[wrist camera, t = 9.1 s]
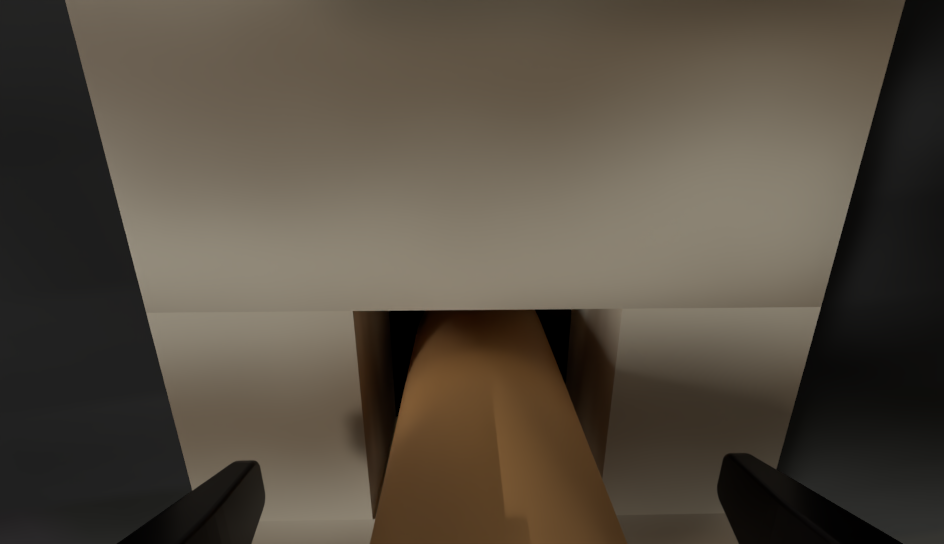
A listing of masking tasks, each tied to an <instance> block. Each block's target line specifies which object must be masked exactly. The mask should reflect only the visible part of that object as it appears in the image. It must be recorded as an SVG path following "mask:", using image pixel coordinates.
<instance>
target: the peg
mask: <svg viewBox="0 0 944 544" xmlns="http://www.w3.org/2000/svg"><path fill="white" fill-rule="evenodd" d="M370 544H627V541H626V539H625V536H624V534H623V531H622V529H621V526H620V523H619V521H618V518H617V516H616V513H615V511H614V508H613V506H612V503H611V500H610V498H609V495H608V493H607V490H606V488H605V485H604V483H603V480H602V477H601V475H600V472H599V470H598V467H597V465H596V462H595V460H594V457H593V454H592V452H591V449H590V447H589V444H588V442H587V439H586V437H585V434H584V432H583V429H582V426H581V424H580V421H579V419H578V416H577V414H576V411H575V409H574V406H573V403H572V401H571V398H570V396H569V393H568V391H567V388H566V386H565V383H564V380H563V378H562V375H561V373H560V370H559V368H558V365H557V363H556V360H555V357H554V355H553V352H552V350H551V347H550V345H549V342H548V340H547V337H546V335H545V332H544V329H543V327H542V324H541V322H540V319H539V317H538V315H537V313H536V311H535V310H534V309H527V310H426V311H425V312H424V314H423V316H422V318H421V320H420V322H419V325H418V329H417V333H416V338H415V342H414V347H413V351H412V356H411V360H410V365H409V369H408V374H407V378H406V383H405V387H404V392H403V396H402V401H401V405H400V410H399V414H398V419H397V423H396V428H395V432H394V437H393V441H392V446H391V450H390V455H389V459H388V464H387V468H386V473H385V477H384V482H383V486H382V491H381V495H380V500H379V504H378V509H377V513H376V518H375V522H374V527H373V532H372V536H371V541H370Z"/></svg>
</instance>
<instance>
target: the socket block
mask: <svg viewBox="0 0 944 544" xmlns="http://www.w3.org/2000/svg"><path fill="white" fill-rule="evenodd" d="M65 1H66V5H67V9H68V13H69V17H70V20H71V24H72V28H73V32H74V36H75V40H76V44H77V47H78V51H79V55H80V59H81V63H82V67H83V71H84V74H85V78H86V82H87V86H88V90H89V94H90V98H91V101H92V105H93V109H94V113H95V117H96V121H97V125H98V128H99V132H100V136H101V140H102V144H103V148H104V151H105V155H106V159H107V163H108V167H109V171H110V175H111V178H112V182H113V186H114V190H115V194H116V198H117V202H118V205H119V209H120V213H121V217H122V221H123V225H124V229H125V232H126V236H127V240H128V244H129V248H130V252H131V256H132V259H133V263H134V267H135V271H136V275H137V279H138V282H139V286H140V290H141V294H142V298H143V302H144V306H145V309H146V313H147V317H148V321H149V325H150V329H151V333H152V336H153V340H154V344H155V348H156V352H157V356H158V360H159V363H160V367H161V371H162V375H163V379H164V383H165V387H166V390H167V394H168V398H169V402H170V406H171V410H172V413H173V417H174V421H175V425H176V429H177V433H178V437H179V440H180V444H181V448H182V452H183V456H184V460H185V464H186V467H187V471H188V475H189V479H190V483H191V487H192V491H193V490H194V489H195V488H197V487H198V486H200V485H201V484H202V483H204V482H205V481H207V480H208V479H210V478H211V477H212V476H214V475H215V474H217V473H218V472H219V471H221V470H222V469H224V468H225V467H227V466H228V465H229V464H231V463H233V462H234V461H238V460H255V461H257V462H258V463H259V465H260V468H261V473H262V478H263V483H264V489H265V505H264V508H263V512H262V514H261V517H260V520H259V523H258V526H257V529H256V532H255V535H254V538H253V541H252V544H370V541H371V536H372V532H373V527H374V522H375V518H376V513H377V509H378V504H379V500H380V495H381V491H382V486H383V482H384V477H385V473H386V468H387V464H388V459H389V455H390V450H391V446H392V441H393V437H394V432H395V428H396V423H397V419H398V417H396V409H395V394H394V379H393V364H392V349H391V334H390V319H389V311H409V310H527V309H572V310H571V322H570V335H569V348H568V361H567V374H566V388H567V391H568V393H569V396H570V398H571V401H572V403H573V406H574V409H575V411H576V414H577V416H578V419H579V421H580V424H581V426H582V429H583V432H584V434H585V437H586V439H587V442H588V444H589V447H590V449H591V452H592V454H593V457H594V460H595V462H596V465H597V467H598V470H599V472H600V475H601V477H602V480H603V483H604V485H605V488H606V490H607V493H608V495H609V498H610V500H611V503H612V506H613V508H614V511H615V513H616V516H617V518H618V521H619V523H620V526H621V529H622V531H623V534H624V536H625V539H626V541H627V544H738V541H737V539H736V537H735V535H734V532H733V530H732V528H731V526H730V523H729V521H728V519H727V517H726V514H725V512H724V510H723V508H722V505H721V503H720V501H719V498H718V494H717V483H718V479H719V474H720V470H721V465H722V461H723V457H724V456H725V455H726V454H728V453H748V454H751V455H753V456H754V457H756V458H758V459H759V460H761V461H763V462H764V463H766V464H768V465H770V466H771V467H773V468H775V469H777V465H778V461H779V458H780V454H781V451H782V447H783V443H784V440H785V436H786V432H787V429H788V425H789V421H790V418H791V414H792V411H793V407H794V403H795V400H796V396H797V392H798V389H799V385H800V381H801V378H802V374H803V371H804V367H805V363H806V360H807V356H808V352H809V349H810V345H811V341H812V338H813V334H814V331H815V327H816V323H817V320H818V316H819V312H820V309H821V305H822V301H823V298H824V294H825V291H826V287H827V283H828V280H829V276H830V272H831V269H832V265H833V261H834V258H835V254H836V251H837V247H838V243H839V240H840V236H841V232H842V229H843V225H844V221H845V218H846V214H847V210H848V207H849V203H850V200H851V196H852V192H853V189H854V185H855V181H856V178H857V174H858V170H859V167H860V163H861V160H862V156H863V152H864V149H865V145H866V141H867V138H868V134H869V130H870V127H871V123H872V120H873V116H874V112H875V109H876V105H877V101H878V98H879V94H880V90H881V87H882V83H883V80H884V76H885V72H886V69H887V65H888V61H889V58H890V54H891V50H892V47H893V43H894V40H895V36H896V32H897V29H898V25H899V21H900V18H901V14H902V10H903V7H904V3H905V0H65Z"/></svg>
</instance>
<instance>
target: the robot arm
mask: <svg viewBox="0 0 944 544" xmlns="http://www.w3.org/2000/svg"><path fill="white" fill-rule="evenodd" d="M717 494H718V498H719V501H720V503H721V505H722V508H723V510H724V512H725V514H726V517H727V519H728V521H729V523H730V526H731V528H732V530H733V532H734V535H735V537H736V539H737V541H738V544H903V543H901V542H899V541H898V540H896V539H894V538H892V537H891V536H889V535H887V534H886V533H884V532H882V531H880V530H879V529H877V528H875V527H874V526H872V525H870V524H869V523H867V522H865V521H863V520H862V519H860V518H858V517H857V516H855V515H853V514H851V513H850V512H848V511H846V510H845V509H843V508H841V507H840V506H838V505H836V504H834V503H833V502H831V501H829V500H828V499H826V498H824V497H822V496H821V495H819V494H817V493H816V492H814V491H812V490H811V489H809V488H807V487H805V486H804V485H802V484H800V483H799V482H797V481H795V480H793V479H792V478H790V477H788V476H787V475H785V474H783V473H782V472H780V471H778V470H776V469H775V468H773V467H771V466H770V465H768V464H766V463H764V462H763V461H761V460H759V459H758V458H756V457H754V456H753V455H751V454H748V453H728V454H726V455H725V456H724V457H723V461H722V465H721V470H720V474H719V479H718V483H717ZM264 505H265V489H264V483H263V478H262V473H261V468H260V465H259V463H258V462H257V461H255V460H238V461H234V462H233V463H231V464H229V465H228V466H227V467H225V468H224V469H222V470H221V471H219V472H218V473H217V474H215V475H214V476H212V477H211V478H210V479H208V480H207V481H205V482H204V483H202V484H201V485H200V486H198V487H197V488H195V489H194V490H193V491H191V492H190V493H188V494H187V495H185V496H184V497H183V498H181V499H180V500H178V501H177V502H176V503H174V504H173V505H171V506H170V507H168V508H167V509H166V510H164V511H163V512H161V513H160V514H158V515H157V516H156V517H154V518H153V519H151V520H150V521H149V522H147V523H146V524H144V525H143V526H141V527H140V528H139V529H137V530H136V531H134V532H133V533H132V534H130V535H129V536H127V537H126V538H124V539H123V540H122V541H120V542H119V543H117V544H252V541H253V538H254V535H255V532H256V529H257V526H258V523H259V520H260V517H261V514H262V512H263V508H264Z"/></svg>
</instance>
